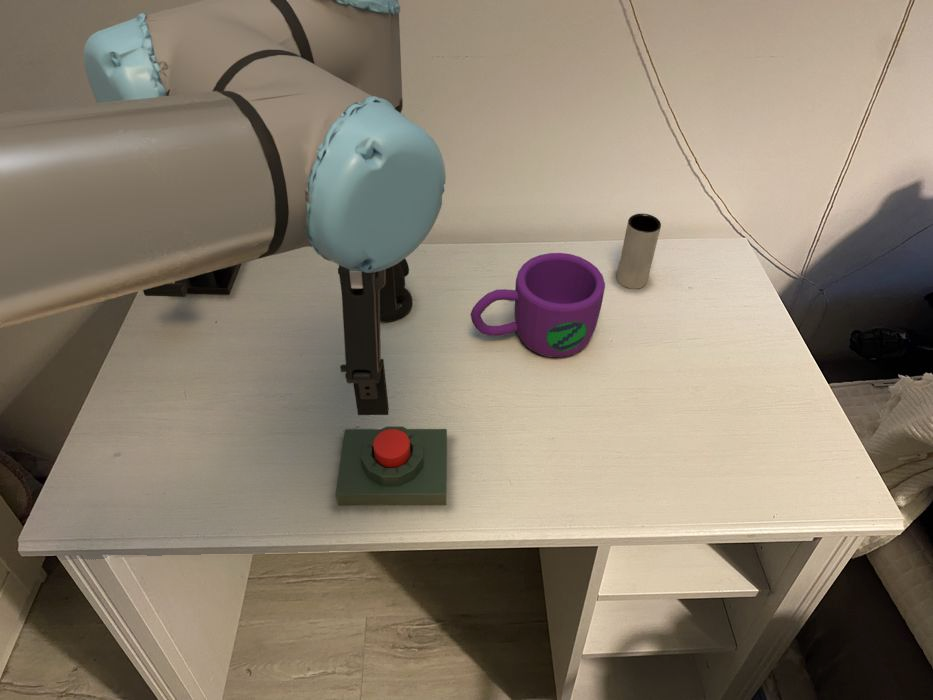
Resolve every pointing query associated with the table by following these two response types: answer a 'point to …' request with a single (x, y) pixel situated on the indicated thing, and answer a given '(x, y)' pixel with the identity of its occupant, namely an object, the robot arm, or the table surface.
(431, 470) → the button block
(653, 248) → the grey hollow cylinder
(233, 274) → the switch bracket
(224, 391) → the table surface
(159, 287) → the switch lever
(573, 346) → the mug
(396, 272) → the webcam
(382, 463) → the red button
